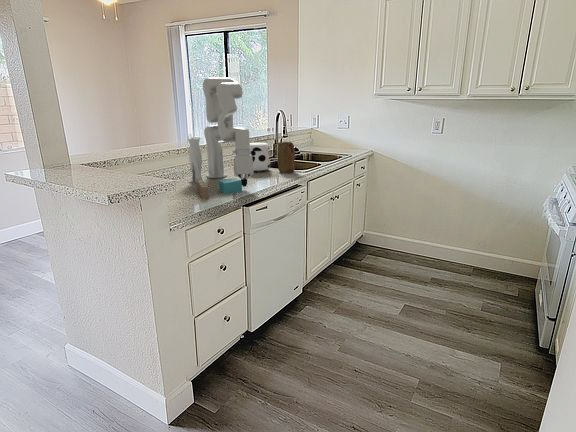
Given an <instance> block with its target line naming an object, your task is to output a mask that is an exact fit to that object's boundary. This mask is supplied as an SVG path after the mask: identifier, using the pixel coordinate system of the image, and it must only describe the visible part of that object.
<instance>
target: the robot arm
mask: <svg viewBox="0 0 576 432" xmlns="http://www.w3.org/2000/svg"><path fill="white" fill-rule="evenodd" d="M202 91H203V93H204V97H205V113H206V121H207V122H208V123H209V124H210V123H211V124H210V125H207V126H206V127H205V128H204V129H203V135H204V139H205V143H206V144H205V145H206V153H207V154H206V155H207V166H208V167H207V169H208V173H207V174H206V175H205V176H206V178H209V179H221V178H223V179H224V178H225V177H227V173H225V168H224V152H223V147H222V144H220V141H221V142H224V143H231V142H235V143H234V144H235V145H234V146H235V148H234V150H232V152H233V153H232V154H234V159H233V176H234V177H239V179H240V180H241V181H242V188H245V187H247V185H248V179H249V177H250V176H253V175H254V173H255V172H254V166H253V159H252V155H251V154H250V143H251V141H250V130H249V129H248V128H245V127H243V126H234V115H233V114H235V113H236V112H237V111H238V107H237V104H236V99H237V100H239V99H241V98H242V97H243V92H244V91H243V87H242V85H241V84H240V83H239V82H238V81H237V80H235V79H234V78H232V77H222V76H221V77H219V76H218V77H217V76H216V77H215V76H211V77H206V78H205V79H203V81H202Z"/></svg>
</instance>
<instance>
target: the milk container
mask: <svg viewBox="0 0 576 432" xmlns="http://www.w3.org/2000/svg"><path fill="white" fill-rule="evenodd" d="M269 153H270V151H269V144H268V143H266V142H250V154H251V155H252V159H253V166H254V172H253V173H260V172H267V171H268V170H269V169H270V167H271V160H270V158H269V157H270V154H269Z"/></svg>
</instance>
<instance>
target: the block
mask: <svg viewBox="0 0 576 432" xmlns="http://www.w3.org/2000/svg"><path fill="white" fill-rule="evenodd" d="M295 154H296V152H295V146H294V143H293V141H279V142H278V143H277V167H278V168H277V169H278V171H279V173H282V174H292V173H295V169H296V168H295V167H296V166H295V165H296V163H295Z"/></svg>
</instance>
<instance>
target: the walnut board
mask: <svg viewBox="0 0 576 432" xmlns="http://www.w3.org/2000/svg"><path fill="white" fill-rule="evenodd" d="M202 179H203V178H202ZM202 179H196V183H197V184H196V191H197V192H198V194H199V195H200V197H201V198H202V200H204V199H210V198H209V197H210V196H209V194H210V193H209V186H208V185H207V184H206V182H205V181H204V179H203V180H202Z"/></svg>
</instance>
